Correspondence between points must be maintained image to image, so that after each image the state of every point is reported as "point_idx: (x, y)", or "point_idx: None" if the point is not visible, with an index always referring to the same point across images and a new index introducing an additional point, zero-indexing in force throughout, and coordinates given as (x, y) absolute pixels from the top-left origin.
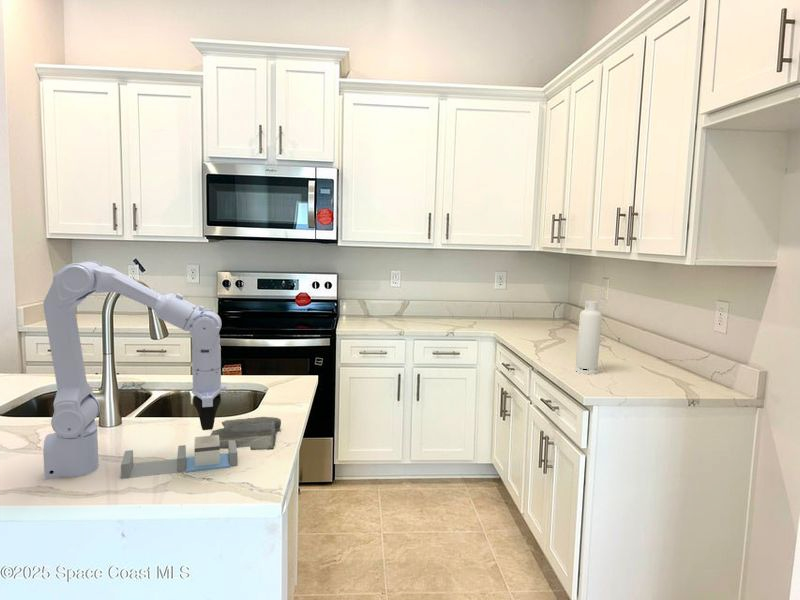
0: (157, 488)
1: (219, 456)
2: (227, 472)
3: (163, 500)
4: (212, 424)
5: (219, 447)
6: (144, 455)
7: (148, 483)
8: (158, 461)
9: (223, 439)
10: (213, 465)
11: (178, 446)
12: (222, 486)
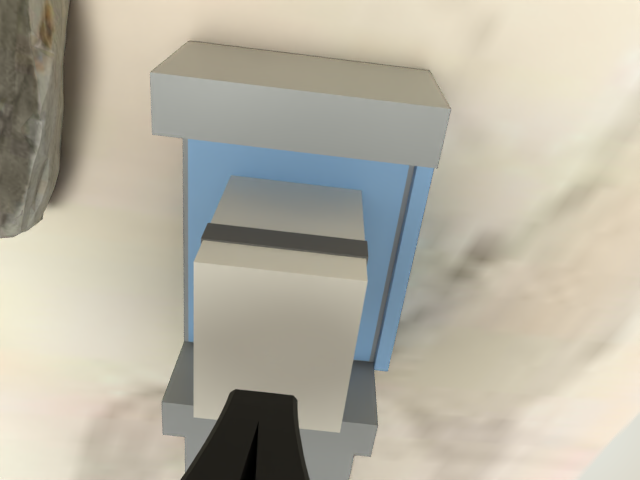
0: (461, 449)
1: (362, 215)
2: (448, 142)
3: (596, 440)
4: (297, 439)
5: (367, 253)
6: (61, 466)
7: (390, 471)
8: (193, 445)
9: (25, 138)
10: (371, 228)
11: (177, 435)
12: (629, 202)
